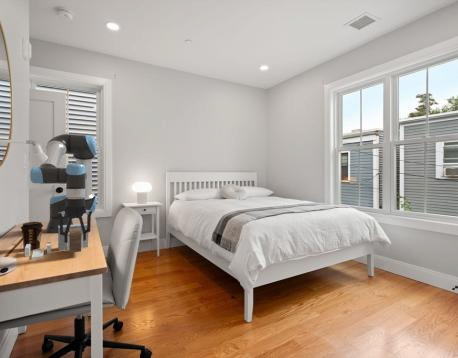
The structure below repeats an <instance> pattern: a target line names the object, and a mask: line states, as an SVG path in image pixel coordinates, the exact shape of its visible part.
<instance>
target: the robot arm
mask: <svg viewBox="0 0 458 358" xmlns="http://www.w3.org/2000/svg"><path fill="white" fill-rule="evenodd" d="M45 150H46V151H45V153H44V155H45V154H46V155H47V156H48V159H47V160H46V161H45V162H43V163H42V164H41V163H40V164H39V166H37V167H32V168H31V169H30V173H29V176H30V177H29V179H30V181H31V182H32V184H41V185H42V184H43V185H45V184H48V185H50V184H51V185H52V184H53V185H55V184H61V185H62V184H63V185H64V184H66V186H65V194H61V195H60V194H58V195H54V196H51V197H50V198H49V220H48V223H47V224H46V227H45V228H46V229H45V230H46V231H45V232H46V233H50V234H55V233H56V234H58V226H60V235H64V242H65V243H67V250H66V251H69V244H70V235H69V228H70V225H74V222H73V219H79V224H81V228H82V231H83V233H81V250H82V249H84V248H83V241H85V240H86V233H88V234H89V233H90V232H91V226H92V225H91V221H92V219H91V218H92V217H91V216H92V215H93V213H94V212H95V211H96V208H97V200H98V197H97V196H98V195H95V192H93V160H94V159H95V157H96V156H97V155H98V147H97V140H96V138H95V137H94V136H91V135H86V134H85V135H84V134H69V133H65V134H64V133H63V134H60V135H56V136H54V137H52V138H51V139H50V140H48V142H47V143H46V146H45ZM66 154H68V155H72V157H73V158H74V159H75V163H68V164H66V167H60V165H61V163H62V159H63V156H64V155H66ZM51 161H52V162H51ZM85 214H86V217H87V218H86V219H87V220H86V224H87V230H85V227H84V224H85V223H84V220H83V215H85ZM63 225H67V226H66V230H65V232H63Z"/></svg>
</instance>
